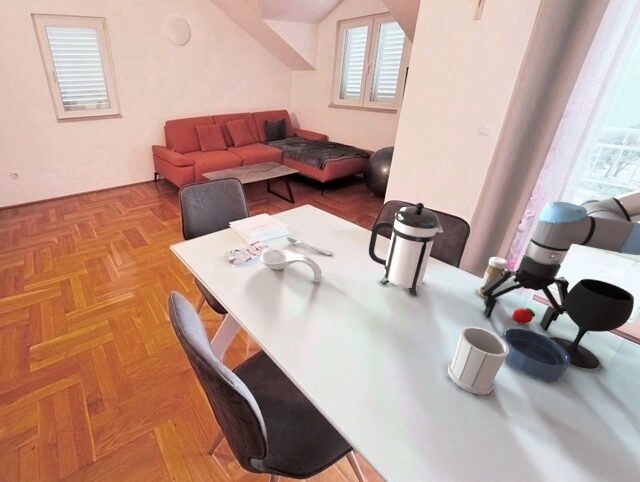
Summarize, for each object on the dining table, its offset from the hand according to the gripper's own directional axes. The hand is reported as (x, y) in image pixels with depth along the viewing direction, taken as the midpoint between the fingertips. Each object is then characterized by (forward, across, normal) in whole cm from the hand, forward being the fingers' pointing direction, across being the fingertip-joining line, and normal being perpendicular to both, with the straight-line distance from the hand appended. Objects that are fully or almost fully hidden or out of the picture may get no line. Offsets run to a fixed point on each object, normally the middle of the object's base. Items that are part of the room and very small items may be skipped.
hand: (514, 321), depth 92 cm
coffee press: (0, -31, +9) cm, 32 cm away
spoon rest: (+1, -68, +2) cm, 68 cm away
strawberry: (0, 0, 0) cm, 0 cm away
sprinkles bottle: (0, -4, +12) cm, 13 cm away
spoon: (+1, -65, +22) cm, 69 cm away
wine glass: (0, +9, -9) cm, 13 cm away
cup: (0, -17, -27) cm, 32 cm away
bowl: (0, -2, -16) cm, 16 cm away
